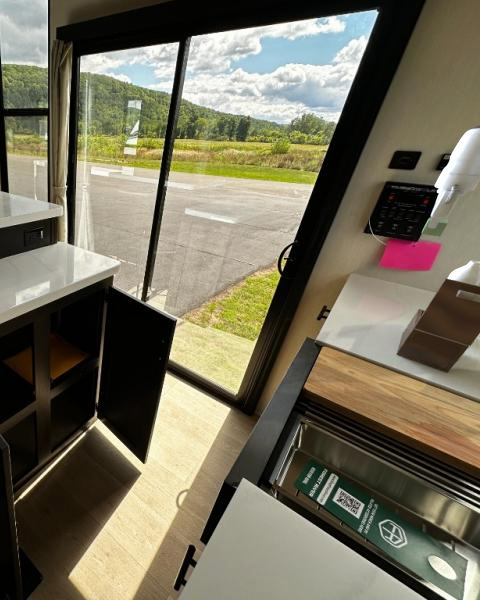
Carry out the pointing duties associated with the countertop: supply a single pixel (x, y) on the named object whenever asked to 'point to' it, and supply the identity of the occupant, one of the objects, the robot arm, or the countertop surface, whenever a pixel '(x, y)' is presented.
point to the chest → (429, 347)
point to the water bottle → (467, 273)
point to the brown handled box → (453, 312)
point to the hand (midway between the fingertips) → (432, 225)
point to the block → (437, 230)
